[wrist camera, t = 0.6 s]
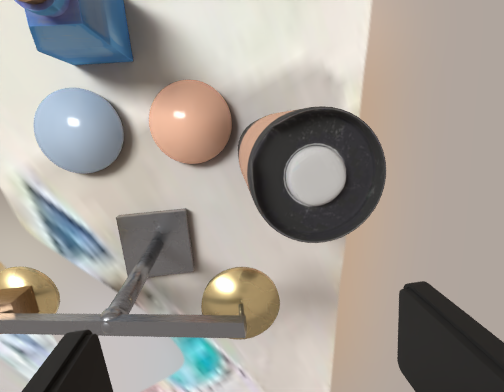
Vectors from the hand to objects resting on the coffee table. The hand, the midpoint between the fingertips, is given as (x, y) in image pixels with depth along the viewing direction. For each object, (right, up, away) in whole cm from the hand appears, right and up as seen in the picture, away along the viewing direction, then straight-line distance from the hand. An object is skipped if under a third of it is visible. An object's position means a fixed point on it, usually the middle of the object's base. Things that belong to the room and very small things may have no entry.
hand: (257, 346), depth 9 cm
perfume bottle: (-16, +22, +22) cm, 35 cm away
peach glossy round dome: (-7, +13, +24) cm, 29 cm away
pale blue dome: (-19, +12, +24) cm, 32 cm away
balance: (-12, -1, +27) cm, 30 cm away
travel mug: (+2, +10, +26) cm, 28 cm away
